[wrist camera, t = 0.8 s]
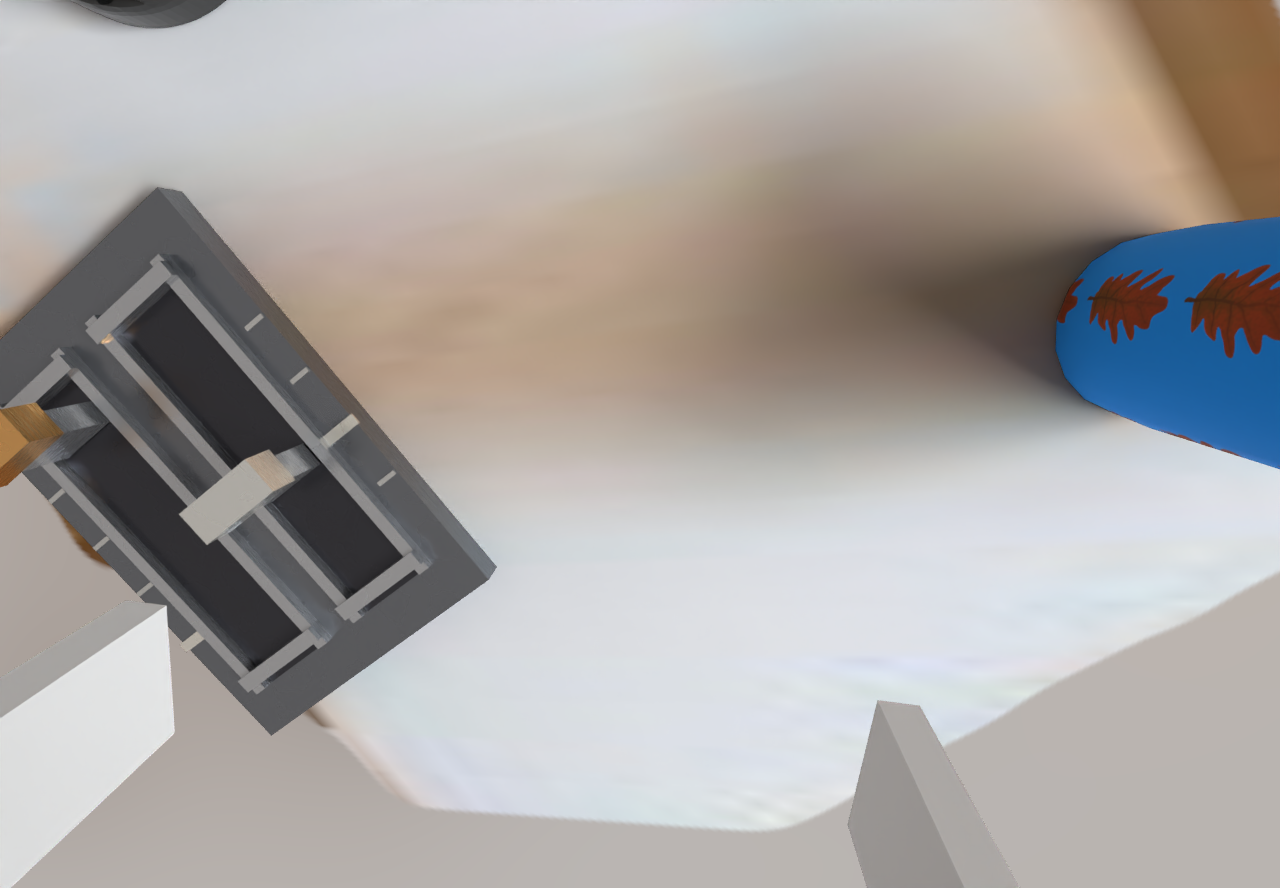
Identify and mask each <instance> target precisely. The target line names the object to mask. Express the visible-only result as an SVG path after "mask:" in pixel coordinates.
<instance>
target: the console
mask: <svg viewBox="0 0 1280 888" xmlns="http://www.w3.org/2000/svg"><path fill="white" fill-rule="evenodd" d="M89 401H92V402H93V403H94V404H95V405H96V406H97V407H98V408H99V410H100V411H101V412H102V413H103V414H104V415H105V416H106V417H107V418H108V419H109V421H110V422H109V423H108V424H107V425H105V426H104V427H103V428H102V429H101V430H100V431H99V432H98V433H96V434H95V435H94V436H93V437H92V438H91V439H90V440H89V441H87V442H86V443H85V444H84V445H83V446H82V447H81V448H80V449H79V450H77V451H76V452H75V453H74V454H73V455H72V456H71V457H70V458H67V459H64V460H61V461H57V462H54V463H50V464H47V465H43V466H40V467H37V468H33V469H30V470H26V471H23V472H22V473H23V474H24V475H25V476H26V477H27V478H28V480H29V481H30V482H31V483H32V484H33V485H34V486H35V487H36V488H37V489H38V490H39V491H40V492H41V493H42V494H43V495H44V496H45V497H46V499H47V500H48V501H49V502H50V503H51V504H52V505H53V506H54V507H55V508H56V509H57V510H58V511H59V512H60V513H61V514H62V515H63V516H64V517H65V519H66V520H67V521H68V522H69V523H70V524H71V525H72V526H73V527H74V528H75V529H76V530H77V531H78V532H79V533H80V534H81V535H82V536H83V538H84V539H85V540H86V541H87V542H88V543H89V544H90V545H91V546H92V547H93V548H94V549H95V551H97V552H98V553H99V554H100V555H101V556H102V558H103V559H104V560H105V561H106V562H107V563H108V564H109V565H110V566H111V567H112V568H113V569H114V570H115V571H116V572H117V573H118V574H119V575H120V576H121V577H122V579H123V580H124V581H125V582H126V583H127V584H128V585H129V586H130V587H131V588H132V589H133V590H134V591H135V592H136V594H138V596H139V597H140V598H142V600H143V601H144V602H145V603H152V604H159V605H166V606H167V621H168V627H169V628H170V629H171V630H172V631H173V632H174V633H175V634H176V636H177V637H178V638H179V639H180V640H181V641H182V642H183V643H181V644H180V646H181V647H182V648H183V649H184V650H185V652H188V651H189V650H191V651H192V652H193V653H194V654H195V656H197V658H198V659H199V660H200V661H201V662H202V663H203V664H204V665H205V666H206V667H207V668H208V669H209V670H210V671H211V672H212V673H213V674H214V676H215V677H216V678H217V679H218V680H219V681H220V682H221V683H222V684H223V685H224V686H225V687H226V688H227V689H228V690H229V691H230V692H231V693H232V694H233V696H234V697H235V698H236V699H237V700H238V701H239V702H240V703H241V704H242V705H243V706H244V707H245V708H246V709H247V710H248V711H249V712H250V713H251V715H252V716H254V718H255V719H256V720H257V721H258V722H259V723H260V724H261V725H262V726H263V727H264V728H265V729H266V730H267V731H268V732H269V734H271V735H273V734H274V733H276V732H277V731H278V730H280V729H281V728H283V727H284V726H285V725H287V724H288V723H289V722H291V721H292V720H294V719H295V718H296V717H298V716H299V715H301V714H302V713H303V712H305V711H306V710H308V709H309V708H310V707H312V706H313V705H315V704H316V703H317V702H319V701H320V700H322V699H323V698H324V697H326V696H327V695H329V694H330V693H331V692H333V691H334V690H336V689H337V688H338V687H340V686H341V685H342V684H344V683H345V682H347V681H348V680H349V679H351V678H352V677H354V676H355V675H356V674H358V673H359V672H361V671H362V670H363V669H365V668H366V667H368V666H369V665H370V664H372V663H373V662H375V661H376V660H377V659H379V658H380V657H382V656H383V655H384V654H386V653H387V652H388V651H390V650H391V649H393V648H394V647H395V646H397V645H398V644H400V643H401V642H402V641H404V640H405V639H407V638H408V637H409V636H411V635H412V634H414V633H415V632H416V631H418V630H419V629H421V628H422V627H423V626H425V625H426V624H427V623H429V622H430V621H432V620H433V619H434V618H436V617H437V616H439V615H440V614H441V613H443V612H444V611H446V610H447V609H448V608H450V607H451V606H453V605H454V604H455V603H457V602H458V601H460V600H461V599H462V598H464V597H465V596H467V595H468V594H469V593H471V592H472V591H473V590H475V589H476V588H478V587H479V586H480V585H482V584H483V583H485V582H486V581H487V580H489V578H490V577H491V575H492V574H493V572H494V571H495V569H496V566H495V564H494V563H493V562H492V561H491V560H490V558H489V557H488V556H487V555H486V554H485V552H484V551H483V550H482V549H481V548H480V547H479V545H478V544H477V543H476V542H475V541H474V539H473V538H472V537H471V536H470V535H469V533H468V532H467V531H466V530H465V529H464V527H463V526H462V525H461V524H460V523H459V521H458V520H457V519H456V518H455V517H454V516H453V514H452V513H451V512H450V511H449V510H448V508H447V507H446V506H445V505H444V504H443V502H442V501H441V500H440V499H439V498H438V496H437V495H436V494H435V493H434V492H433V491H432V489H431V488H430V487H429V486H428V485H427V483H426V482H425V481H424V480H423V479H422V477H421V476H420V475H419V474H418V473H417V471H416V470H415V469H414V468H413V467H412V465H411V464H410V463H409V462H408V461H407V460H406V458H405V457H404V456H403V455H402V454H401V452H400V451H399V450H398V449H397V448H396V446H395V445H394V444H393V443H392V442H391V440H390V439H389V438H388V437H387V436H386V434H385V433H384V432H383V431H382V430H381V429H380V427H379V426H378V425H377V424H376V423H375V421H374V420H373V419H372V418H371V417H370V415H369V414H368V413H367V412H366V411H365V409H364V408H363V407H362V406H361V405H360V404H359V402H358V401H357V400H356V399H355V398H354V396H353V395H352V394H351V393H350V392H349V390H348V389H347V388H346V387H345V386H344V384H343V383H342V382H341V381H340V380H339V378H338V377H337V376H336V375H335V374H334V373H333V371H332V370H331V369H330V368H329V367H328V365H327V364H326V363H325V362H324V361H323V359H322V358H321V357H320V356H319V355H318V353H317V352H316V351H315V350H314V349H313V347H312V346H311V345H310V344H309V343H308V342H307V340H306V339H305V338H304V337H303V336H302V334H301V333H300V332H299V331H298V330H297V328H296V327H295V326H294V325H293V324H292V322H291V321H290V320H289V319H288V318H287V317H286V315H285V314H284V313H283V312H282V311H281V309H280V308H279V307H278V306H277V305H276V303H275V302H274V301H273V300H272V299H271V297H270V296H269V295H268V294H267V293H266V291H265V290H264V289H263V288H262V287H261V286H260V284H259V283H258V282H257V281H256V280H255V278H254V277H253V276H252V275H251V274H250V272H249V271H248V270H247V269H246V268H245V266H244V265H243V264H242V263H241V262H240V260H239V259H238V258H237V257H236V256H235V255H234V253H233V252H232V251H231V250H230V249H229V247H228V246H227V245H226V244H225V243H224V241H223V240H222V239H221V238H220V237H219V235H218V234H217V233H216V232H215V231H214V229H213V228H212V227H211V226H210V225H209V224H208V222H207V221H206V220H205V219H204V218H203V216H202V215H201V214H200V213H199V212H198V210H197V209H196V208H195V207H194V206H193V204H192V203H191V202H190V201H189V200H188V199H187V197H186V196H185V195H184V194H183V193H182V192H181V191H175V190H169V189H164V188H158V187H157V188H156V189H155V190H154V191H153V192H152V193H151V194H150V195H149V196H148V197H147V198H146V199H145V200H144V201H143V202H142V203H141V204H140V205H139V206H138V207H137V208H136V209H135V210H134V211H133V212H132V213H131V214H130V215H128V216H127V217H126V218H125V219H124V220H123V221H122V222H121V223H120V224H119V225H118V226H117V227H116V228H115V229H114V230H113V231H112V232H111V233H110V234H109V235H108V236H107V237H106V238H105V239H104V240H103V241H102V242H101V243H100V244H99V245H98V246H97V247H96V248H94V249H93V250H92V251H91V252H90V253H89V254H88V255H87V256H86V257H85V258H84V259H83V260H82V261H81V262H80V263H79V264H78V265H77V266H76V267H75V268H74V269H73V270H72V271H71V272H70V273H69V274H68V275H67V276H66V277H65V278H64V279H63V280H61V281H60V282H59V283H58V284H57V285H56V286H55V287H54V288H53V289H52V290H51V291H50V292H49V293H48V294H47V295H46V296H45V297H44V298H43V299H42V300H41V301H40V302H39V303H38V304H37V305H36V306H35V307H34V308H33V309H32V310H31V311H30V312H29V313H27V314H26V315H25V316H24V317H23V318H22V319H21V320H20V321H19V322H18V323H17V324H16V325H15V326H14V327H13V328H12V329H11V330H10V331H9V332H8V333H7V334H6V335H5V336H4V337H3V338H2V339H1V340H0V409H5V408H10V407H15V406H20V405H26V404H31V403H37V404H38V405H39V407H40V408H41V409H42V410H43V411H45V410H50V409H55V408H60V407H65V406H70V405H74V404H79V403H84V402H89ZM300 444H304V445H305V446H306V448H307V449H308V450H309V451H310V452H311V453H312V454H313V456H314V457H315V458H316V459H317V460H318V461H319V463H320V464H319V465H318V466H317V467H315V468H314V469H313V470H312V471H310V472H309V473H308V474H307V475H305V476H304V477H303V478H302V479H301V480H299V481H298V482H297V483H296V484H294V485H293V486H292V487H291V488H289V489H288V490H287V491H286V492H284V493H283V494H282V495H281V496H279V497H278V498H277V499H276V500H274V501H272V502H270V503H268V504H267V505H265V506H263V507H261V508H260V509H259V510H258V511H256V512H255V513H254V514H253V515H251V516H250V517H249V518H248V519H246V520H245V521H244V522H243V523H242V524H240V525H239V526H238V527H237V528H235V529H234V530H233V531H231V532H230V533H228V534H226V535H224V536H222V537H221V538H219V539H217V540H215V541H213V542H212V543H210V544H208V545H206V543H205V542H204V541H203V540H202V539H201V538H200V537H199V536H198V535H197V534H196V533H195V531H194V530H193V529H192V528H191V527H190V526H189V525H188V524H187V523H186V522H185V521H184V519H183V518H182V517H181V516H180V515H179V514H180V513H181V512H182V511H183V510H184V509H186V508H187V507H188V506H189V505H190V504H192V503H193V502H194V501H195V500H196V499H198V498H199V497H200V496H201V495H202V494H204V493H205V492H206V491H207V490H208V489H210V488H211V487H212V486H213V485H214V484H216V483H217V482H218V481H219V480H220V479H222V478H223V477H224V476H225V475H227V474H228V473H229V472H230V471H231V470H233V469H234V468H235V467H236V466H237V465H239V464H240V463H241V462H242V461H243V460H245V459H247V458H249V457H252V456H254V455H256V454H259V453H261V452H264V451H266V450H270V451H271V452H272V454H273V455H274V456H275V455H277V454H279V453H282V452H284V451H286V450H289V449H291V448H293V447H296V446H298V445H300Z"/></svg>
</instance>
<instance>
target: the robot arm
mask: <svg viewBox="0 0 1280 888" xmlns="http://www.w3.org/2000/svg"><path fill="white" fill-rule="evenodd" d="M71 1H73V2H75V3H77V4H79V5H81V6H83V7H85V8H88V9H90V10H92V11H94V12H96V13H98V14H101V15H103V16H105V17H107V18H110V19H112V20H115V21H118V22H121V23H124V24H129V25H133V26H139V27H150V28H160V27H171V26H176V25H181V24H184V23H188V22H191V21H193V20H196V19H198V18H200V17H202V16H204V15H206V14H208V13H209V12H211V11H213V10H214V9H216V8H217V7H218V6H220V5H221V4H222V3H223V2H224V1H226V0H71ZM170 668H171V667H170V652H169V637H168V621H167V606H166V605H159V604H152V603H144V602H137V601H129V600H125V601H123V602H122V603H120V604H118V605H117V606H115V607H114V608H112V609H111V610H109V611H107V612H106V613H104V614H102V615H101V616H99V617H98V618H96V619H94V620H93V621H91V622H90V623H88V624H86V625H84V626H83V627H82V628H80V629H78V630H77V631H75V632H73V633H72V634H70V635H68V636H67V637H65V638H63V639H62V640H60V641H59V642H57V643H56V644H54V645H52V646H51V647H49V648H47V649H46V650H44V651H42V652H41V653H39V654H38V655H36V656H34V657H33V658H31V659H30V660H28V661H26V662H25V663H23V664H21V665H20V666H19V667H17V668H15V669H13V670H12V671H10V672H8V673H7V674H5V675H4V676H2V677H1V678H0V888H11V887H12V886H13V885H14V884H15V883H16V882H17V881H18V880H19V879H21V878H22V877H23V876H24V875H25V874H26V873H27V872H28V871H29V870H30V869H31V868H32V867H33V866H34V865H35V864H36V863H38V862H39V861H40V859H42V858H43V857H44V856H45V855H46V854H47V853H48V852H49V851H50V850H51V849H52V848H53V847H54V846H56V845H57V844H58V843H59V842H60V841H61V840H62V839H63V838H64V837H65V836H66V835H67V834H68V833H69V832H70V831H71V830H72V829H73V828H75V827H76V826H77V825H78V824H79V823H80V822H81V821H82V820H83V819H84V818H85V817H86V816H87V815H88V814H89V813H90V812H92V810H94V809H95V808H96V807H97V806H98V805H99V804H100V803H101V802H102V801H103V800H104V799H105V798H106V797H107V796H108V795H109V794H111V793H112V792H113V791H114V790H115V789H116V788H117V787H118V786H119V785H120V784H121V783H122V782H123V781H124V780H125V779H126V778H128V777H129V776H130V775H131V774H132V773H133V772H134V771H135V770H136V769H137V768H138V767H139V766H140V765H141V764H142V763H143V762H144V761H146V760H147V759H148V758H149V757H150V756H151V755H152V754H153V753H154V752H155V751H156V750H157V749H158V748H159V747H160V746H161V745H162V744H163V743H164V742H166V741H167V739H169V738H170V737H171V736H172V735H173V734H174V733H175V730H174V714H173V699H172V685H171V684H172V683H171V669H170ZM848 827H849V831H850V834H851V837H852V840H853V844H854V847H855V850H856V853H857V857H858V860H859V863H860V866H861V870H862V873H863V876H864V879H865V882H866V886H867V888H1020V887H1019V885H1018V883H1017V881H1016V880H1015V878H1014V876H1013V874H1012V872H1011V870H1010V869H1009V867H1008V865H1007V863H1006V861H1005V860H1004V858H1003V856H1002V854H1001V852H1000V851H999V849H998V847H997V845H996V843H995V841H994V840H993V838H992V836H991V834H990V832H989V831H988V829H987V827H986V825H985V823H984V821H983V820H982V818H981V816H980V814H979V813H978V811H977V809H976V807H975V805H974V803H973V802H972V800H971V798H970V796H969V794H968V792H967V791H966V789H965V787H964V785H963V783H962V782H961V780H960V778H959V776H958V774H957V773H956V771H955V769H954V767H953V765H952V763H951V762H950V760H949V758H948V756H947V754H946V753H945V751H944V749H943V747H942V745H941V743H940V742H939V740H938V738H937V736H936V734H935V733H934V731H933V729H932V727H931V725H930V724H929V722H928V720H927V718H926V716H925V714H924V713H923V711H922V709H921V707H920V706H917V705H909V704H902V703H894V702H887V701H879V700H877V705H876V709H875V713H874V717H873V721H872V725H871V729H870V734H869V738H868V742H867V746H866V750H865V754H864V759H863V763H862V767H861V771H860V775H859V779H858V783H857V788H856V792H855V796H854V800H853V804H852V809H851V813H850V817H849V821H848Z"/></svg>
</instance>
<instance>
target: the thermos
mask: <svg viewBox="0 0 1280 888" xmlns="http://www.w3.org/2000/svg"><path fill="white" fill-rule="evenodd" d="M1055 350H1056V353H1057V356H1058V359H1059V362H1060V364H1061V367H1062V370H1063V373H1064V376H1065V378H1066V379H1067V380H1068V381H1069V383H1070V384H1071V385H1072V386H1073V387H1074V388H1075V389H1076V390H1077V391H1078V393H1079V394H1080V395H1081V396H1082V397H1083V398H1084V399H1085V400H1087V401H1090V402H1092V403H1094V404H1096V405H1098V406H1100V407H1102V408H1104V409H1106V410H1108V411H1110V412H1113V413H1115V414H1117V415H1120V416H1122V417H1125V418H1127V419H1130V420H1132V421H1134V422H1137V423H1139V424H1142V425H1144V426H1147V427H1149V428H1152V429H1155V430H1158V431H1161V432H1164V433H1167V434H1170V435H1174V436H1177V437H1180V438H1183V439H1186V440H1189V441H1193V442H1196V443H1199V444H1202V445H1205V446H1208V447H1212V448H1215V449H1218V450H1221V451H1224V452H1227V453H1230V454H1234V455H1237V456H1240V457H1243V458H1246V459H1249V460H1253V461H1256V462H1259V463H1262V464H1265V465H1268V466H1272V467H1275V468H1278V469H1280V217H1274V218H1264V219H1255V220H1245V221H1236V222H1226V223H1217V224H1207V225H1201V226H1195V227H1190V228H1184V229H1179V230H1174V231H1168V232H1163V233H1157V234H1153V235H1149V236H1145V237H1141V238H1137V239H1134V240H1130V241H1126V242H1122V243H1120V244H1119V245H1117V246H1115V247H1114V248H1112V249H1111V250H1109V251H1108V252H1106V253H1105V254H1103V255H1101V256H1100V257H1098V258H1097V259H1095V260H1094V261H1092V262H1091V263H1090V264H1089V266H1088V267H1087V268H1086V269H1085V270H1084V271H1083V273H1082V274H1081V275H1080V276H1079V277H1078V279H1077V280H1076V281H1075V282H1074V283H1073V284H1072V286H1071V287H1070V288H1069V290H1068V293H1067V295H1066V298H1065V300H1064V303H1063V305H1062V307H1061V310H1060V312H1059V315H1058V317H1057V327H1056V349H1055Z"/></svg>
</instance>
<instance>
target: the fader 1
mask: <svg viewBox="0 0 1280 888" xmlns="http://www.w3.org/2000/svg"><path fill="white" fill-rule="evenodd" d="M109 422H110V421H109V419H108V418H107V417H106V416H105V415H104V414H103V413H102V412H101V411H100V410H99V408H98V407H97V406H96V405H95V404H94V403H93V402H92V401H89V402H84V403H79V404H74V405H70V406H65V407H60V408H55V409H50V410H45V411H43V410H42V409H41V408H40V407H39V405H38V404H37V403H31V404H26V405H20V406H15V407H10V408H5V409H0V487H3V486H6V485H8V484H9V483H10V482H11V481H12V480H13V479H14V478H15V477H17V476H18V475H19V474H20V473H21V472H23V471H26V470H30V469H33V468H37V467H40V466H43V465H47V464H50V463H54V462H57V461H61V460H64V459H67V458H70V457H71V456H72V455H73V454H74V453H75V452H76V451H77V450H79V449H80V448H81V447H82V446H83V445H84V444H85V443H86V442H87V441H89V440H90V439H91V438H92V437H93V436H94V435H95V434H96V433H98V432H99V431H100V430H101V429H102V428H103V427H104V426H105V425H107V424H108V423H109Z"/></svg>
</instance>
